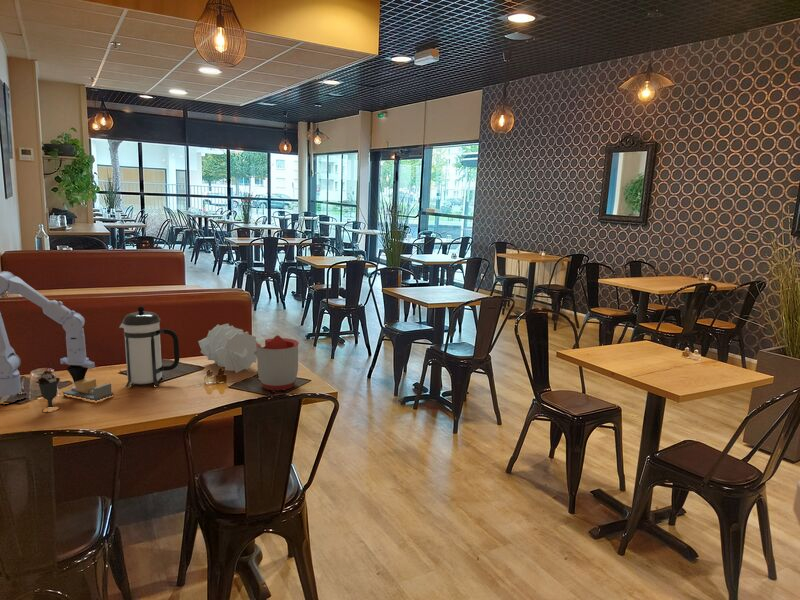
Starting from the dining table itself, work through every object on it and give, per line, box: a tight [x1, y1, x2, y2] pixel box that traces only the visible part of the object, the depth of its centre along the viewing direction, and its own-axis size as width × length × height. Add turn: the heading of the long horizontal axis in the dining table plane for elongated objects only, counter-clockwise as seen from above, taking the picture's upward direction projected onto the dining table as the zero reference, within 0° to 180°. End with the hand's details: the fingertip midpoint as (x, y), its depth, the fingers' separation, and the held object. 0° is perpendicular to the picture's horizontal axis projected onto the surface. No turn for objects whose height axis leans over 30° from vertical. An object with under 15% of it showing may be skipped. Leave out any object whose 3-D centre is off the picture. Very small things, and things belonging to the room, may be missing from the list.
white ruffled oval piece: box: [198, 323, 258, 374], centre depth 234 cm, size 18×18×25 cm
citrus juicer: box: [254, 334, 300, 391], centre depth 211 cm, size 16×17×20 cm
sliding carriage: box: [74, 377, 97, 394], centre depth 197 cm, size 4×5×4 cm
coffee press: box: [119, 305, 180, 388], centre depth 210 cm, size 17×16×30 cm
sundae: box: [35, 364, 61, 407], centre depth 184 cm, size 7×7×15 cm
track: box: [62, 382, 115, 401], centre depth 197 cm, size 16×7×5 cm, turn 68°
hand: (79, 385), depth 199 cm, fingers closed
